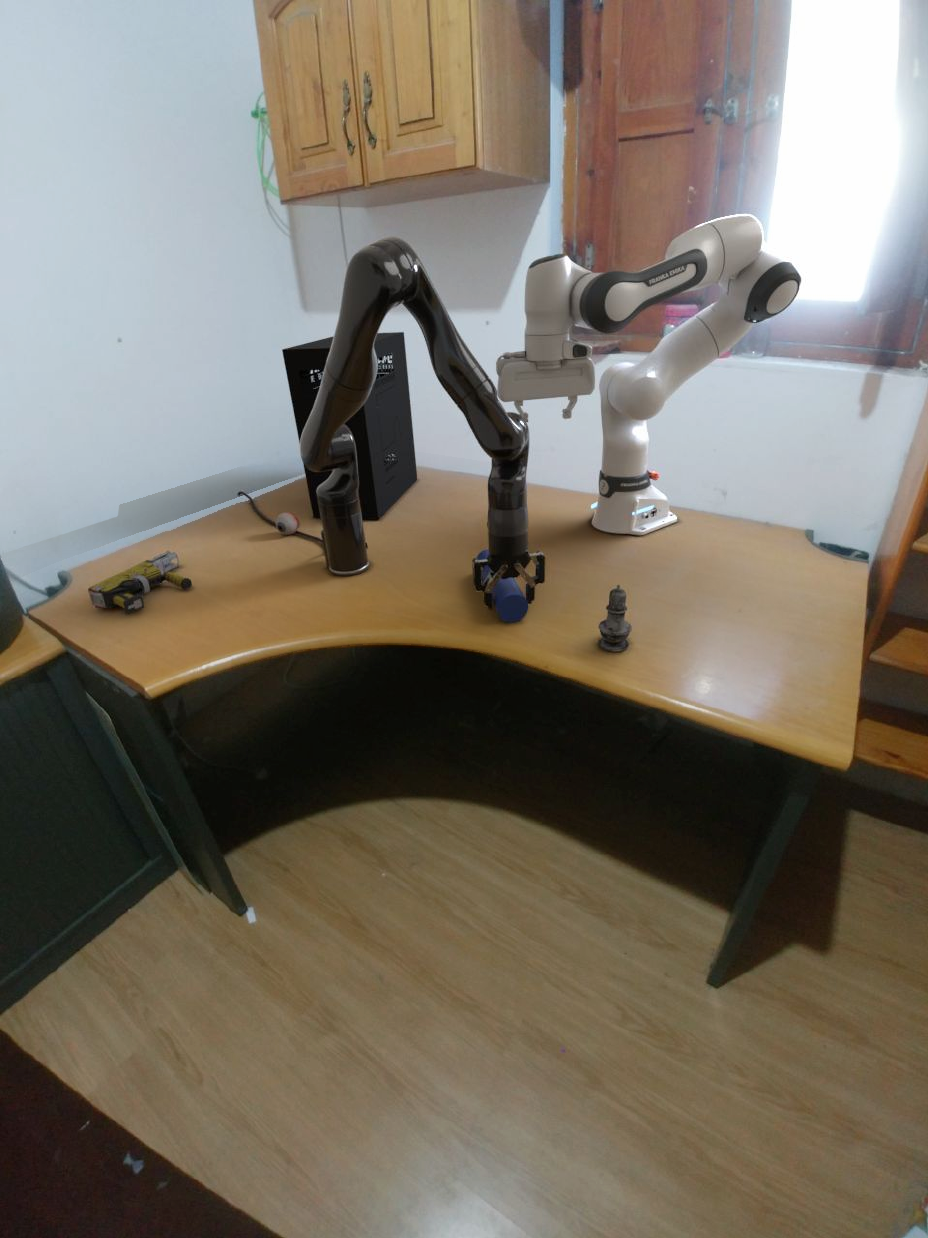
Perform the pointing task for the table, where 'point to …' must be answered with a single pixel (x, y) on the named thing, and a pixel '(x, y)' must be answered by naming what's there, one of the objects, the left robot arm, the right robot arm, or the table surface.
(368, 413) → the cardboard box
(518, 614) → the rod
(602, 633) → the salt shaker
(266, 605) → the table surface
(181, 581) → the toy gun
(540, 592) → the table surface
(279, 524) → the eyeball
